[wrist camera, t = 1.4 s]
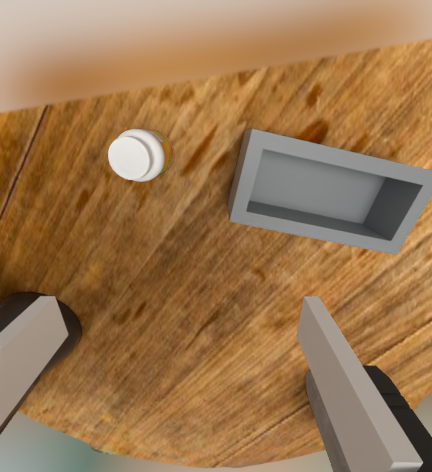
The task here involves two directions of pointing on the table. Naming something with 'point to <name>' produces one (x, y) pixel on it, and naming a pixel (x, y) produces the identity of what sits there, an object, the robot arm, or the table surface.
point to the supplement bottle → (140, 154)
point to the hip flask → (325, 426)
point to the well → (326, 192)
